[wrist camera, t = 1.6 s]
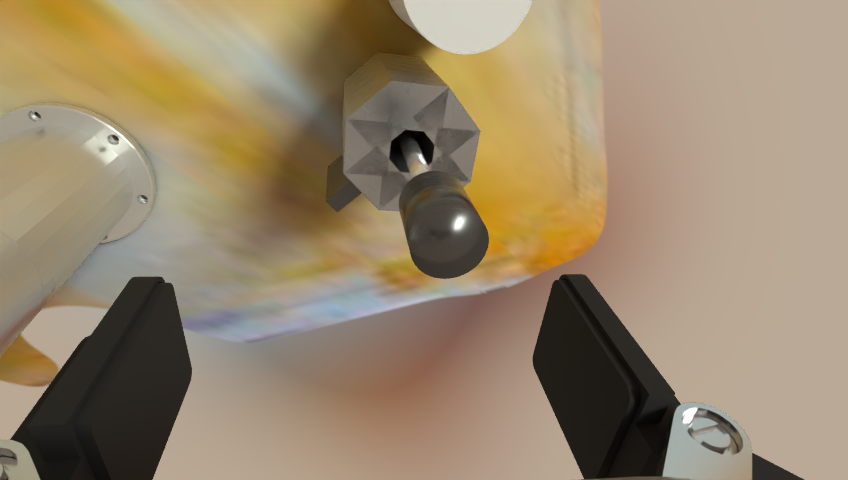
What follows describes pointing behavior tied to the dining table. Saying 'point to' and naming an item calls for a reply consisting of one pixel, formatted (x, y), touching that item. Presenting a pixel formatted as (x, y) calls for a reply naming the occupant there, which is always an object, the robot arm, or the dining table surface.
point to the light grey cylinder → (463, 21)
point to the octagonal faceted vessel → (397, 130)
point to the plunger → (439, 218)
